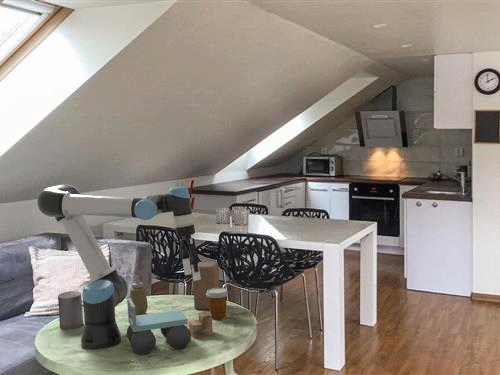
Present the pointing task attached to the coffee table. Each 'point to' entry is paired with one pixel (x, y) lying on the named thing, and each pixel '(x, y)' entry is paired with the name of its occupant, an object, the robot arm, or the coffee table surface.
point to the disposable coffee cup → (217, 302)
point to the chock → (201, 325)
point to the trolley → (167, 321)
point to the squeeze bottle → (139, 297)
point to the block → (205, 283)
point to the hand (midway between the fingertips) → (192, 277)
